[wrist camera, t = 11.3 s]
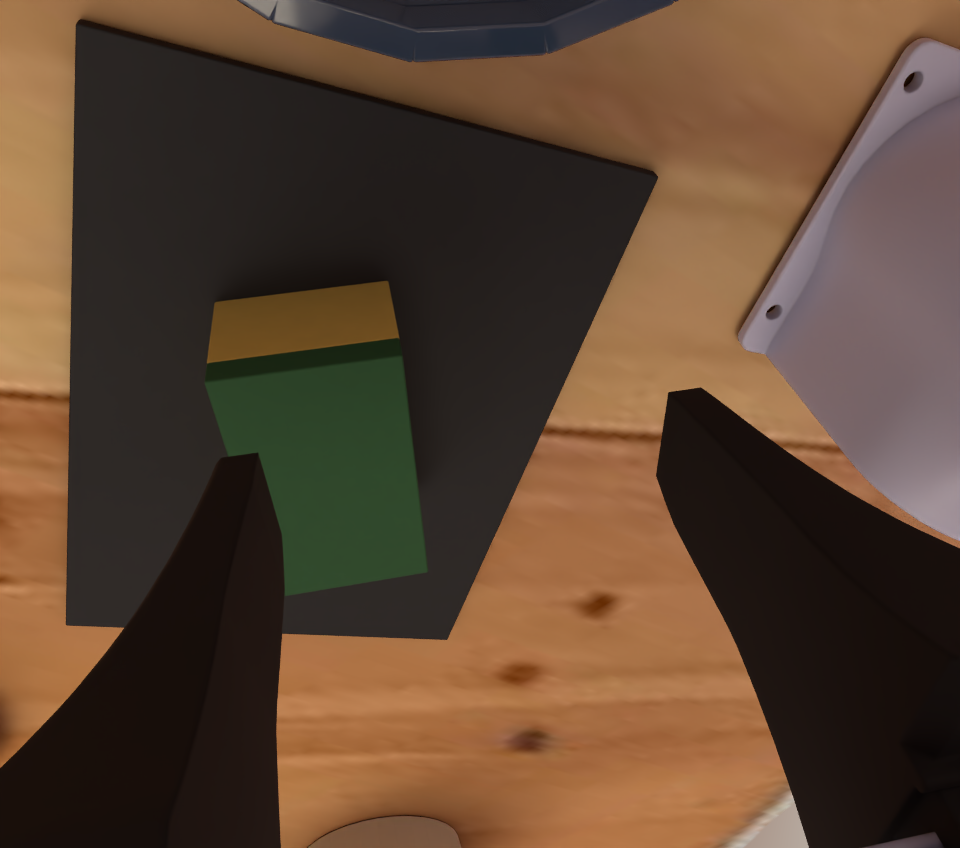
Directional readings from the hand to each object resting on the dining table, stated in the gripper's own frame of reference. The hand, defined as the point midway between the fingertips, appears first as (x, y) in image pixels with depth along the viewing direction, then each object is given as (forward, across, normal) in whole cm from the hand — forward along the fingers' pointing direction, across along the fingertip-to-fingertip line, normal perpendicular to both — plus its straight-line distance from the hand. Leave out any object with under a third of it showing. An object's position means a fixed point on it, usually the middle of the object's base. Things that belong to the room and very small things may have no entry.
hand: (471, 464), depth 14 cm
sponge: (+9, +3, +5) cm, 11 cm away
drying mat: (+9, +3, +6) cm, 12 cm away
